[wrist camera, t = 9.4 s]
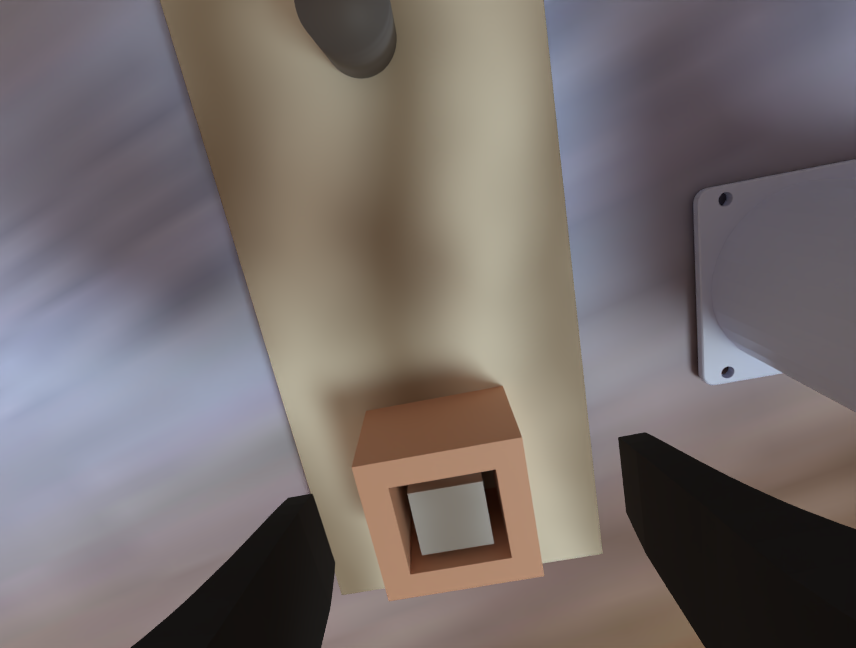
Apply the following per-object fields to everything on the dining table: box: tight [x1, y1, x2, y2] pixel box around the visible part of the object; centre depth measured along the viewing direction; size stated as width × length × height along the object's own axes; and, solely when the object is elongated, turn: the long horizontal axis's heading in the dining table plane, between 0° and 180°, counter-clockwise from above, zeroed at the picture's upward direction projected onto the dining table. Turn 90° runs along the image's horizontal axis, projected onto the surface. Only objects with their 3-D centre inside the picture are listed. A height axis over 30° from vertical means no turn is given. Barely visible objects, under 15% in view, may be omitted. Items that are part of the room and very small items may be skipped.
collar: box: [351, 386, 544, 601], centre depth 18 cm, size 6×6×4 cm
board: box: [160, 0, 602, 595], centre depth 17 cm, size 12×28×5 cm, turn 11°
